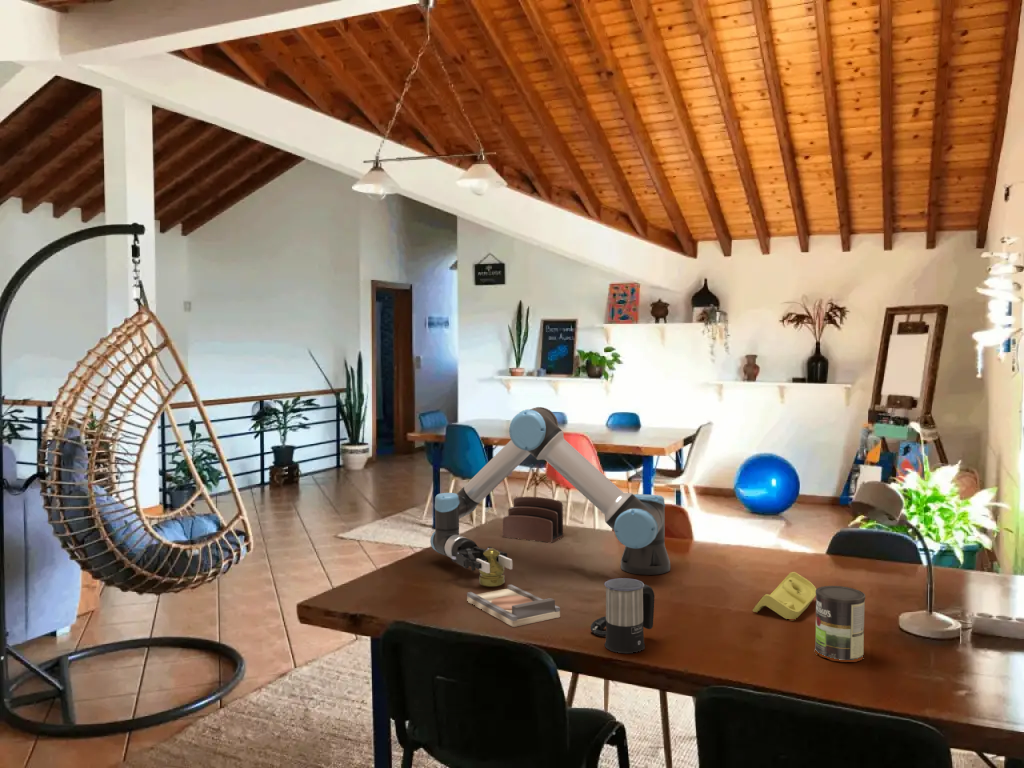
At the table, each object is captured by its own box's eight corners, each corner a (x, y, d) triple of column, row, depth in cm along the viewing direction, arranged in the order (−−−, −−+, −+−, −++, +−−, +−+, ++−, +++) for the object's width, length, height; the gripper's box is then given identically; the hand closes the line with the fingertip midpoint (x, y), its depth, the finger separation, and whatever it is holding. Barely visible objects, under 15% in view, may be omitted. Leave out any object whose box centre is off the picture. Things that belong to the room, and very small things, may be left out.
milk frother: (634, 657, 183) (634, 591, 183) (571, 644, 192) (571, 581, 191) (659, 638, 195) (659, 576, 195) (599, 626, 204) (599, 566, 203)
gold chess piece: (474, 585, 235) (474, 550, 235) (485, 578, 242) (484, 544, 242) (498, 588, 233) (498, 553, 232) (508, 580, 240) (508, 546, 239)
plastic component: (797, 614, 205) (761, 590, 210) (784, 637, 207) (749, 613, 212) (822, 589, 220) (788, 567, 225) (810, 610, 223) (777, 589, 228)
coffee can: (827, 664, 179) (828, 600, 178) (806, 647, 189) (807, 586, 188) (873, 662, 179) (874, 598, 179) (850, 645, 190) (851, 584, 189)
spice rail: (467, 601, 224) (466, 585, 224) (511, 593, 231) (511, 577, 231) (513, 627, 203) (513, 609, 203) (560, 617, 211) (559, 599, 210)
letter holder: (514, 532, 306) (514, 494, 306) (563, 537, 297) (563, 498, 297) (502, 538, 297) (501, 499, 297) (552, 543, 288) (552, 503, 288)
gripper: (489, 557, 258) (529, 574, 238) (433, 566, 248) (469, 585, 228) (489, 533, 257) (529, 548, 238) (432, 541, 247) (469, 558, 228)
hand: (499, 566), depth 233 cm, fingers closed on gold chess piece, 7 cm apart
